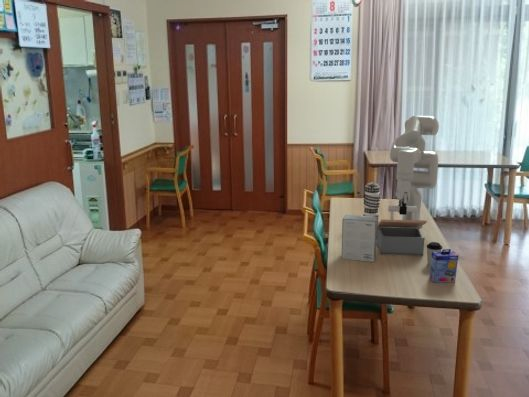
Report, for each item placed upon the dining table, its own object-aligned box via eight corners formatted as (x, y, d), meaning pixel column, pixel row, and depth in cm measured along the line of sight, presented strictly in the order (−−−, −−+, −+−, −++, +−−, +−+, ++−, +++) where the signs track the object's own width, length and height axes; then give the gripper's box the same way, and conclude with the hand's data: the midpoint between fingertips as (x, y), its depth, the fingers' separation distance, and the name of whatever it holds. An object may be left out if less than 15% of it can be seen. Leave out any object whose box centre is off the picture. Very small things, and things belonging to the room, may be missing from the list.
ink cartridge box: (433, 283, 213) (436, 250, 209) (428, 277, 218) (431, 246, 215) (456, 282, 214) (459, 249, 210) (450, 276, 219) (453, 245, 215)
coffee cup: (438, 268, 228) (440, 247, 225) (423, 265, 231) (424, 244, 229) (442, 263, 234) (444, 243, 231) (427, 260, 237) (428, 240, 235)
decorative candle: (362, 223, 292) (364, 181, 285) (379, 224, 289) (381, 182, 283) (361, 228, 283) (363, 184, 277) (378, 229, 281) (380, 185, 274)
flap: (376, 226, 257) (376, 210, 258) (419, 227, 255) (418, 211, 257) (381, 221, 241) (381, 204, 243) (426, 222, 239) (426, 205, 241)
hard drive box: (376, 256, 242) (378, 216, 237) (374, 262, 235) (376, 221, 230) (343, 253, 247) (345, 213, 242) (340, 258, 240) (342, 218, 235)
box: (376, 243, 259) (377, 226, 257) (416, 244, 258) (418, 227, 255) (380, 254, 245) (381, 236, 243) (423, 255, 243) (424, 237, 241)
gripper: (393, 172, 249) (391, 208, 253) (399, 179, 233) (397, 218, 238) (409, 172, 248) (406, 209, 253) (416, 179, 233) (413, 218, 237)
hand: (402, 213), depth 245 cm, fingers closed on flap, 2 cm apart
